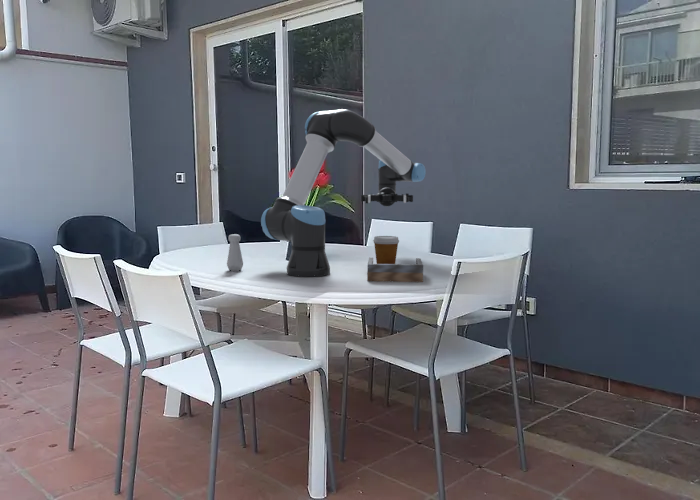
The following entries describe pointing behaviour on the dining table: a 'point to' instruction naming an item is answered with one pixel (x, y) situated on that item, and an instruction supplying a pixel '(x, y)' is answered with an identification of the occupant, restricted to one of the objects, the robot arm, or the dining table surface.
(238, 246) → the salt shaker
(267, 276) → the dining table surface
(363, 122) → the robot arm
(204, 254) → the dining table surface
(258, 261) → the dining table surface
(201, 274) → the dining table surface
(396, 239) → the disposable coffee cup
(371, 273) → the dock
